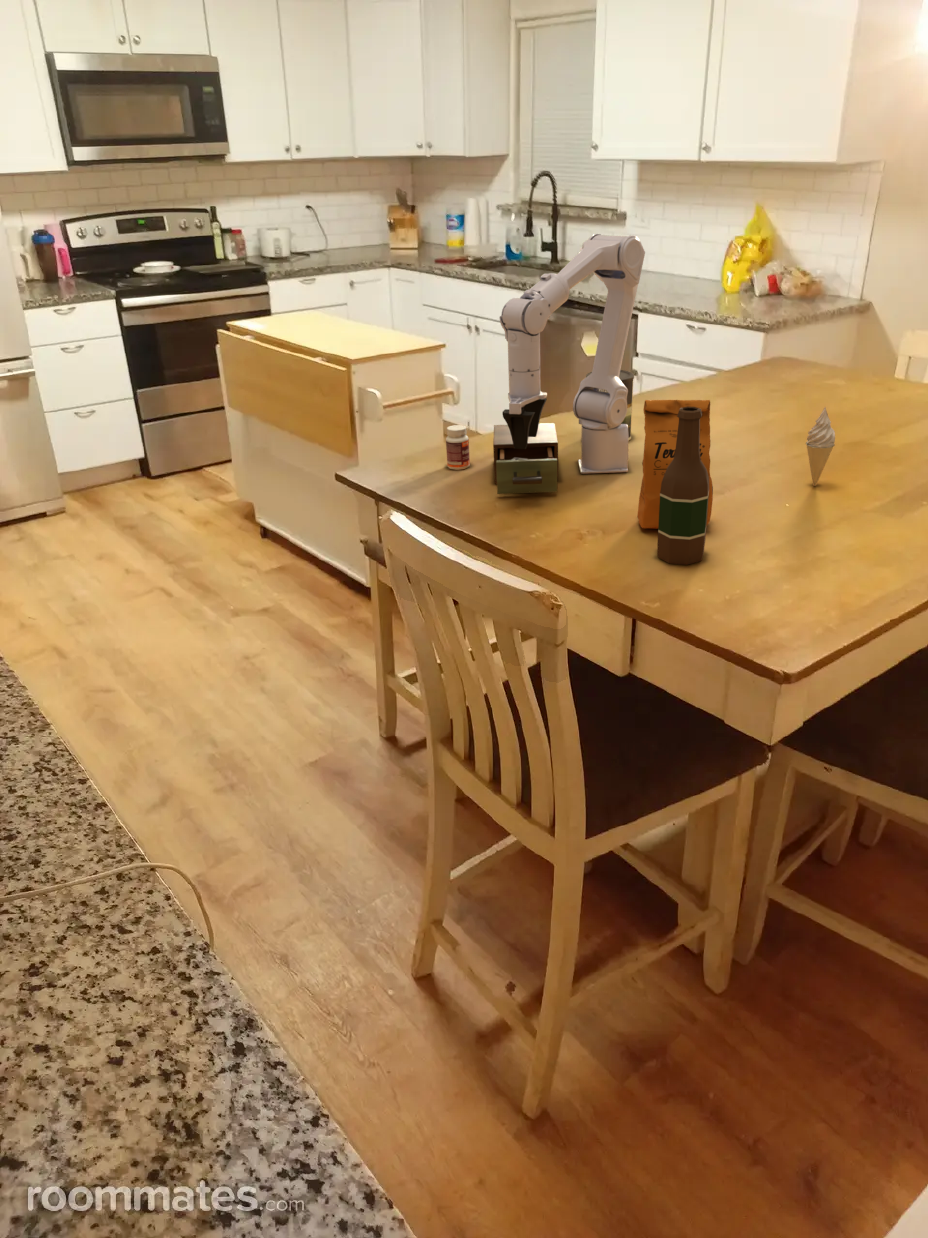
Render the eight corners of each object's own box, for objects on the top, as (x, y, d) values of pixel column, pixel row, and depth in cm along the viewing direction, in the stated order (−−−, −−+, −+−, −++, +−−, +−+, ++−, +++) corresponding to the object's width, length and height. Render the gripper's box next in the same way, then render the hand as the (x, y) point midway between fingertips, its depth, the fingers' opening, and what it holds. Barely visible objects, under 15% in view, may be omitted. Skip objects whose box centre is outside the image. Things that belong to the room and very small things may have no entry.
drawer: (558, 500, 170) (558, 468, 167) (497, 502, 170) (496, 470, 167) (554, 470, 185) (554, 440, 182) (497, 472, 186) (496, 442, 183)
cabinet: (558, 481, 181) (558, 442, 178) (494, 484, 182) (493, 444, 178) (554, 460, 193) (554, 422, 190) (495, 462, 194) (493, 424, 190)
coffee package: (709, 538, 153) (719, 408, 143) (634, 534, 156) (639, 406, 146) (711, 516, 162) (721, 391, 151) (639, 512, 165) (644, 390, 154)
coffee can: (626, 446, 199) (628, 381, 193) (580, 443, 203) (580, 379, 196) (636, 432, 208) (638, 369, 201) (592, 429, 211) (593, 368, 205)
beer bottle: (650, 548, 151) (657, 403, 140) (696, 544, 151) (707, 400, 140) (663, 567, 144) (671, 417, 133) (711, 563, 144) (724, 413, 133)
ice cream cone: (828, 481, 174) (839, 403, 167) (828, 490, 169) (840, 410, 162) (800, 480, 175) (810, 402, 168) (800, 489, 171) (810, 409, 164)
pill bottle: (467, 470, 191) (465, 430, 187) (445, 469, 191) (442, 430, 188) (471, 462, 195) (470, 424, 191) (450, 462, 196) (447, 424, 192)
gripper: (536, 378, 157) (537, 455, 164) (555, 360, 169) (555, 431, 176) (496, 377, 159) (499, 453, 166) (518, 359, 171) (519, 430, 178)
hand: (525, 442), depth 171 cm, fingers open, 7 cm apart
